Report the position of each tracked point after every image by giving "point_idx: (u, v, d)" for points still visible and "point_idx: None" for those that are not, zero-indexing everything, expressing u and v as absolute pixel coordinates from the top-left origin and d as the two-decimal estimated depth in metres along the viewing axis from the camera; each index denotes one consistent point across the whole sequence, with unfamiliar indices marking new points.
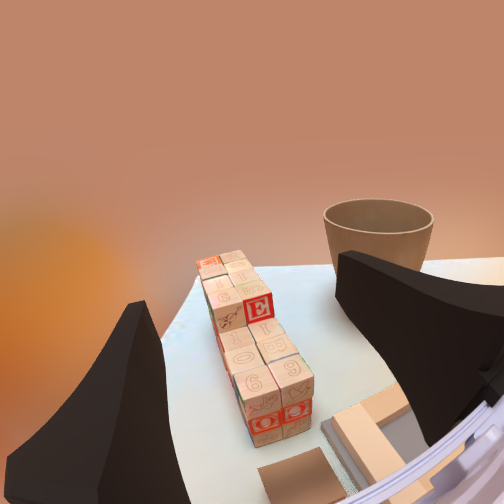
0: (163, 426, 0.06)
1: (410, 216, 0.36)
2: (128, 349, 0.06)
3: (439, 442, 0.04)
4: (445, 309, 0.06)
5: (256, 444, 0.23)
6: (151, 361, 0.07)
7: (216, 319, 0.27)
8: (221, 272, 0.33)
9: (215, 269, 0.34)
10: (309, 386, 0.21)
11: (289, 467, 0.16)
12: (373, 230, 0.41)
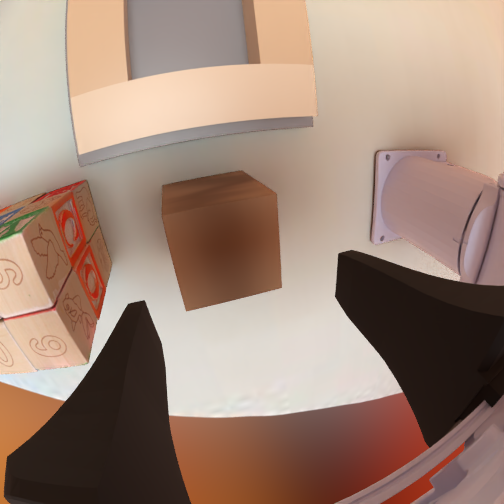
0: (163, 426, 0.06)
1: None
2: (128, 349, 0.06)
3: (439, 442, 0.04)
4: (445, 309, 0.06)
5: (109, 267, 0.17)
6: (151, 361, 0.07)
7: None
8: None
9: None
10: (38, 229, 0.08)
11: (191, 269, 0.13)
12: None
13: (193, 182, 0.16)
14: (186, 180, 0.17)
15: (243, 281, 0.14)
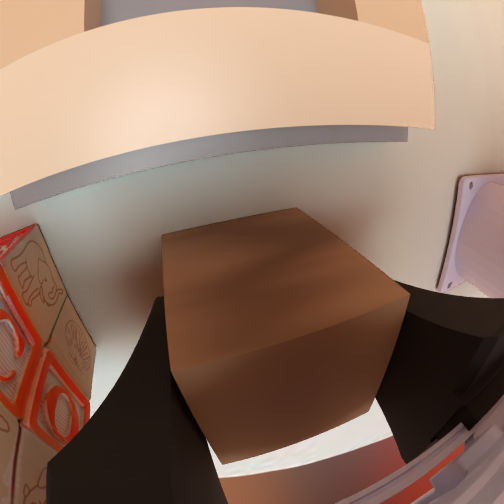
0: None
1: None
2: (167, 341, 0.06)
3: (439, 442, 0.04)
4: (419, 324, 0.05)
5: (92, 357, 0.10)
6: None
7: None
8: None
9: None
10: None
11: (236, 430, 0.06)
12: None
13: (218, 234, 0.09)
14: (204, 226, 0.10)
15: (319, 422, 0.07)
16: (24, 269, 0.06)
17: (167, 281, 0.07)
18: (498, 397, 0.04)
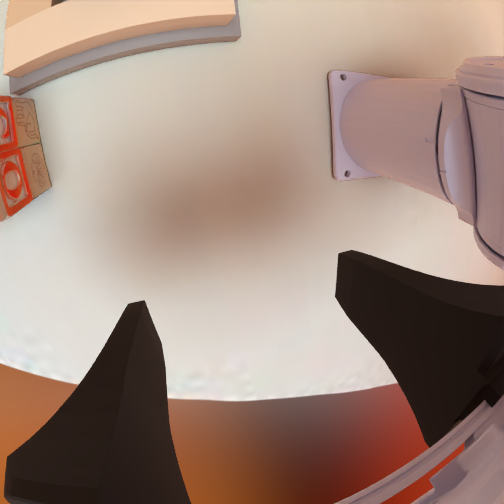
0: (163, 426, 0.06)
1: None
2: (128, 349, 0.06)
3: (439, 442, 0.04)
4: (445, 309, 0.06)
5: (46, 186, 0.13)
6: (151, 361, 0.07)
7: None
8: None
9: None
10: None
11: None
12: None
13: None
14: None
15: None
16: (21, 109, 0.10)
17: None
18: None
